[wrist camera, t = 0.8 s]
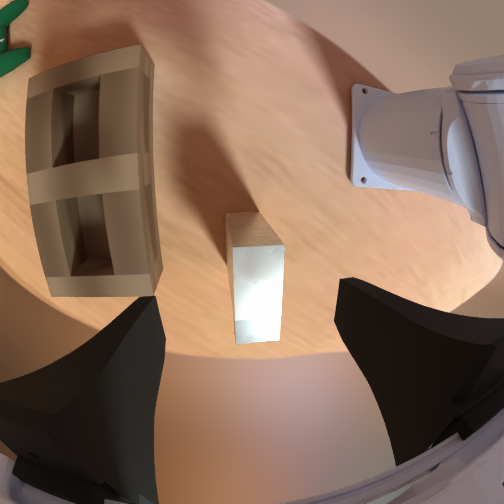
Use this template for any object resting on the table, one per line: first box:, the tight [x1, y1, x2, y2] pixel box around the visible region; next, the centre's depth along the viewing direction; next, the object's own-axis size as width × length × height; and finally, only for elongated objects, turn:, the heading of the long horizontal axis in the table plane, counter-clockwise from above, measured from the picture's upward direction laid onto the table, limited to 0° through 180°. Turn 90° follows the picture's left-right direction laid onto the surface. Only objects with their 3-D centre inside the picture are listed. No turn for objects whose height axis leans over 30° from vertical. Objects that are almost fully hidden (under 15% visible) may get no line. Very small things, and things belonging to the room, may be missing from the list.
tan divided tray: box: [25, 45, 163, 297], centre depth 14 cm, size 8×15×4 cm, turn 179°
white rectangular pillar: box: [225, 212, 285, 344], centre depth 17 cm, size 2×6×7 cm, turn 179°
